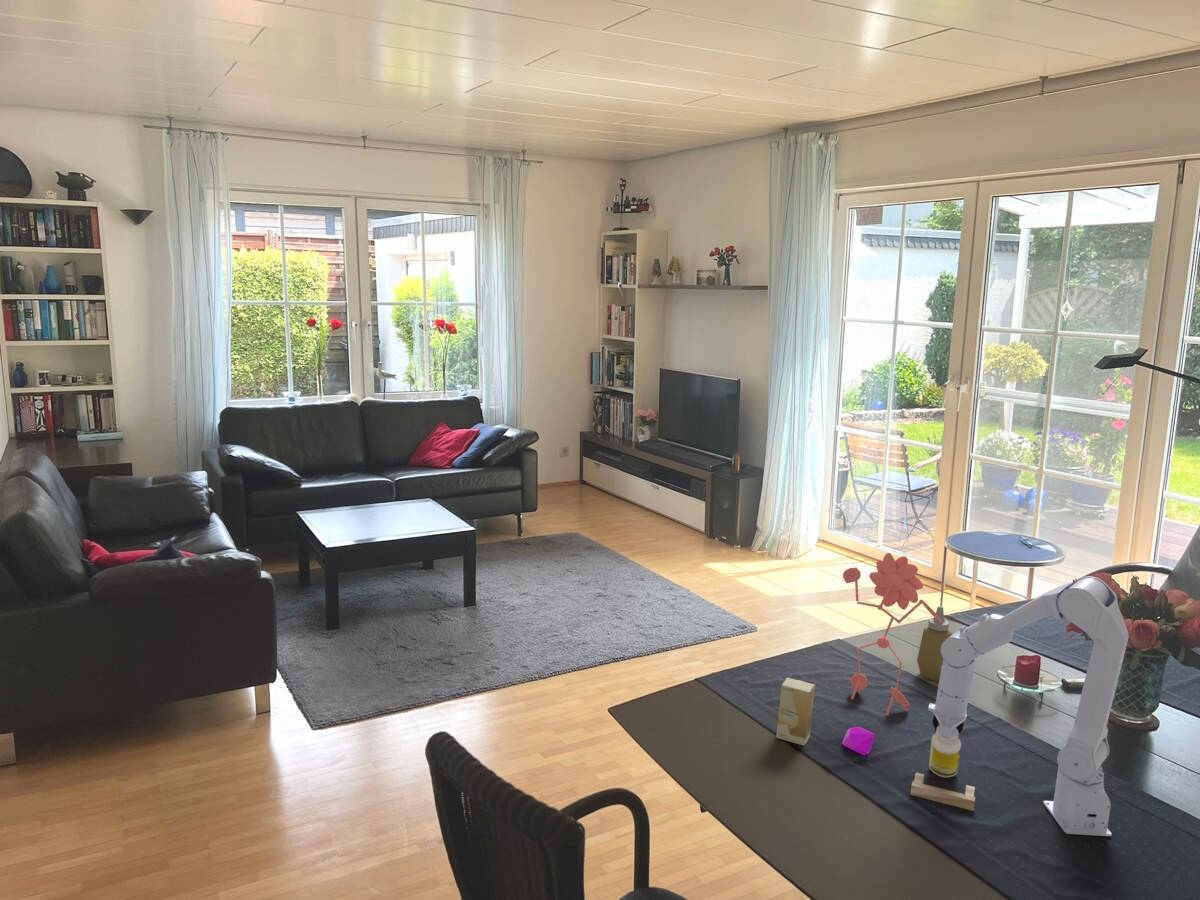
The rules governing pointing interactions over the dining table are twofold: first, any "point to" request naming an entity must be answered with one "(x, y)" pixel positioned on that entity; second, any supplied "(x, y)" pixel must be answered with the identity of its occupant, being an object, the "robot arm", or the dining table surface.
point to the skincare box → (795, 711)
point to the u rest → (943, 794)
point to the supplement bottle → (945, 754)
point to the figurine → (894, 586)
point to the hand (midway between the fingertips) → (942, 752)
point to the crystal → (859, 740)
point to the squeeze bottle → (933, 647)
